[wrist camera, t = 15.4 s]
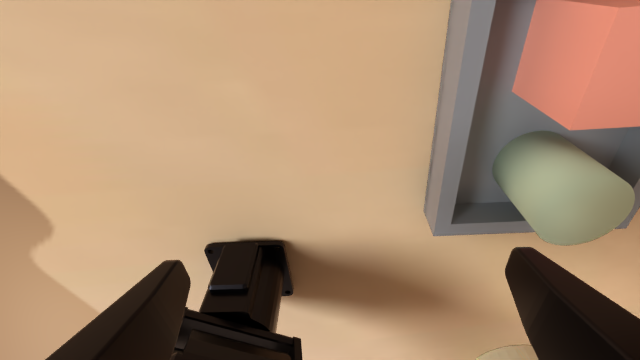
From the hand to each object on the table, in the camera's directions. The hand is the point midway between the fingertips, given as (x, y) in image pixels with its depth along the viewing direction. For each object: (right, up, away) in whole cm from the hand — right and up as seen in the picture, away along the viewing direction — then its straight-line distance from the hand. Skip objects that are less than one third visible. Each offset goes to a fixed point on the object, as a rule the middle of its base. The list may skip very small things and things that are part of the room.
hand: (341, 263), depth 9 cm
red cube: (+12, +9, +7) cm, 17 cm away
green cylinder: (+13, +3, +11) cm, 17 cm away
